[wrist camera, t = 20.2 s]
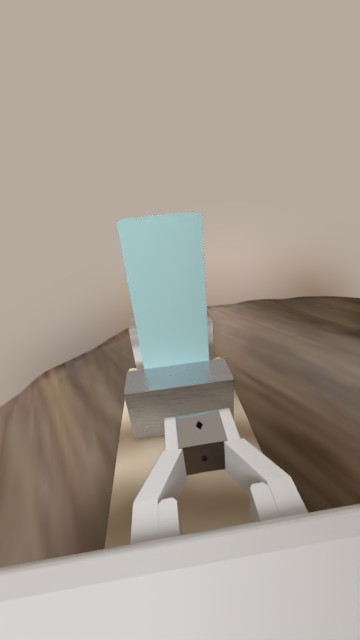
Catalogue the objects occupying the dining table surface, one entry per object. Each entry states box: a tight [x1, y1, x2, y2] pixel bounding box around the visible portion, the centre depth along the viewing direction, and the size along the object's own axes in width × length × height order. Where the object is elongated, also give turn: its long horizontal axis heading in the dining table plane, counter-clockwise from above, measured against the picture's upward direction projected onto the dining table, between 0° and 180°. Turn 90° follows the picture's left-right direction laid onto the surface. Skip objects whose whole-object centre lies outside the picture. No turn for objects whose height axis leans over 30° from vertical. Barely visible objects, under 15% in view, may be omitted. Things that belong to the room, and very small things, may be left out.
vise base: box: [104, 311, 263, 549], centre depth 21 cm, size 22×12×8 cm, turn 6°
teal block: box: [117, 212, 209, 369], centre depth 23 cm, size 5×6×18 cm
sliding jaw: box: [124, 358, 234, 439], centre depth 23 cm, size 3×9×5 cm, turn 96°
